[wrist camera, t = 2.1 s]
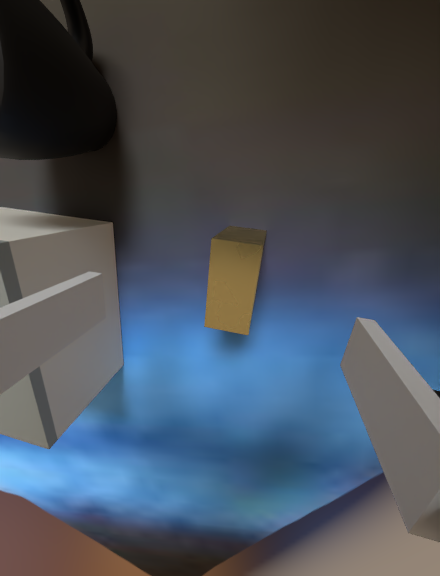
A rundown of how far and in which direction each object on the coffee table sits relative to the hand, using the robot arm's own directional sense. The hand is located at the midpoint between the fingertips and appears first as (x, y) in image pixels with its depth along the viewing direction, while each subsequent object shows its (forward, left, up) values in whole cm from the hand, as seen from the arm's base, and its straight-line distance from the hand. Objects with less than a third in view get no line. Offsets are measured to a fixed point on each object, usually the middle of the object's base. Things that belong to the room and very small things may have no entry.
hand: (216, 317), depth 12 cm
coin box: (+6, -18, -9) cm, 21 cm away
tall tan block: (0, 0, -9) cm, 9 cm away
